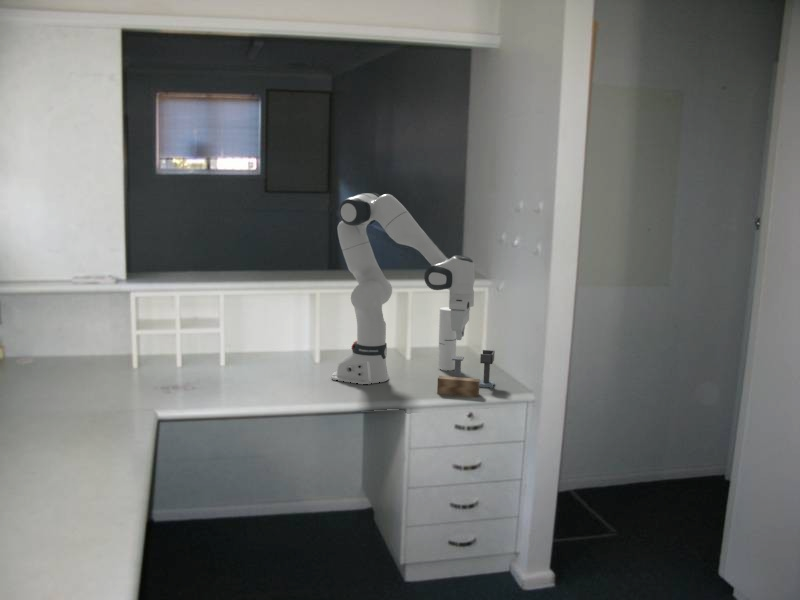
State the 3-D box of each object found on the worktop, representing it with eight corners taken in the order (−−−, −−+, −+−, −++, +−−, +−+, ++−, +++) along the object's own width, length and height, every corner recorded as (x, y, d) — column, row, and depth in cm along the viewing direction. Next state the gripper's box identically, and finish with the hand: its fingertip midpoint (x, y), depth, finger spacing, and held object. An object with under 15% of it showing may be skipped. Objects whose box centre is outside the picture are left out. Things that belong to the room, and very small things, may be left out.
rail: (437, 394, 295) (437, 378, 294) (438, 391, 298) (439, 375, 297) (477, 397, 292) (478, 381, 291) (478, 394, 295) (479, 379, 294)
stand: (445, 384, 307) (446, 351, 304) (448, 379, 313) (449, 347, 311) (492, 388, 303) (493, 355, 300) (494, 383, 309) (495, 350, 307)
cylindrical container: (454, 371, 326) (456, 310, 321) (436, 369, 327) (438, 309, 322) (456, 366, 333) (458, 307, 328) (439, 365, 334) (441, 306, 329)
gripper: (457, 295, 299) (456, 331, 302) (448, 305, 280) (446, 343, 282) (474, 296, 298) (472, 332, 301) (466, 306, 278) (464, 345, 281)
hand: (460, 338), depth 291 cm, fingers open, 4 cm apart
